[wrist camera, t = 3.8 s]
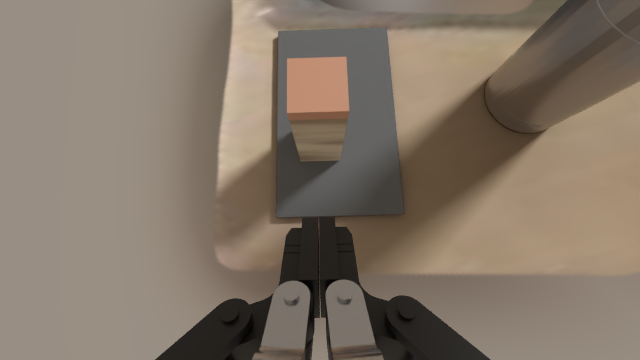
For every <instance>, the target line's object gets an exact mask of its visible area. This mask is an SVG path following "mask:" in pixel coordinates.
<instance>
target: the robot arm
mask: <svg viewBox="0 0 640 360" xmlns="http://www.w3.org/2000/svg"><path fill="white" fill-rule="evenodd" d="M638 82H640V0H567V1H566V2H565V3H564V4H563V5H562V6H561V7H560V8H559V9H558V10H557V11H556V12H555V13H554V14H553V15H552V16H551V17H550V18H549V19H548V20H547V21H546V22H545V23H544V24H543V25H542V26H541V27H540V28H539V29H538V30H537V31H536V32H535V33H534V34H533V35H532V36H531V37H530V38H529V39H528V40H527V41H526V42H525V43H524V44H523V45H522V46H521V47H520V48H519V49H518V50H517V51H516V52H514V53H513V54H512V55H511V56H510V57H509V58H508V59H507V60H506V62H505V63H504V64H503V65H502V66H501V67H500V68H499V69H498V70H497V71H496V72H495V73H494V74H493V75H492V76H491V77H490V78H489V80H488V82H487V84H486V88H485V100H486V104H487V107H488V109H489V110H490V112H491V114H492V115H493V116H494V117H495V119H496V120H498V121H499V122H500V123H501V124H502V125H504V126H506V127H507V128H509V129H511V130H514V131H517V132H522V133H537V132H541V131H544V130H546V129H548V128H550V127H552V126H554V125H555V124H557V123H559V122H561V121H563V120H565V119H567V118H569V117H571V116H573V115H575V114H577V113H579V112H581V111H583V110H585V109H587V108H589V107H591V106H593V105H595V104H597V103H599V102H601V101H603V100H605V99H607V98H608V97H610V96H612V95H614V94H616V93H618V92H620V91H622V90H624V89H626V88H628V87H630V86H632V85H634V84H636V83H638ZM319 242H320V296H321V297H320V298H321V317H326V334H327V348H328V358H329V360H490V359H489V358H488V357H487V356H485V355H484V354H483V353H482V352H480V351H479V350H478V349H477V348H475V347H474V346H473V345H472V344H470V343H469V342H468V341H467V340H465V339H464V338H463V337H462V336H460V335H459V334H458V333H457V332H456V331H454V330H453V329H452V328H451V327H449V326H448V325H447V324H446V323H444V322H443V321H441V319H439V318H438V317H437V316H435V315H434V314H433V313H432V312H431V311H429V310H428V309H427V308H426V307H425V306H423V305H422V304H421V303H420V302H418V301H417V300H415V299H413V298H411V297H408V296H396V297H394V298H392V299H391V300H390V301H386V300H383V299H379V298H376V297H373V296H371V295H369V294H368V293H367V292H366V291H364V289H363V288H362V287H361V285H360V283H359V278H358V272H357V265H356V259H355V253H354V246H353V239H352V234H351V233H350V231H349V230H348V229H347V227H335V216H319V229H318V217H303V219H302V228H291V230H290V231H289V233H288V234H287V235H286V240H285V247H284V254H283V261H282V268H281V276H280V283H279V286H278V287H277V289H276V290H275V292H274V293H273V294H272V295H271V296H270V297H268V298H266V299H265V300H262V301H259V302H256V303H253V304H250V305H249V304H248V303H247V302H246V301H244V300H242V299H230V300H227V301H225V302H223V303H221V304H220V305H219V306H217V307H216V308H215V309H214V310H213V311H212V312H210V313H209V314H208V315H207V316H206V317H205V318H203V319H202V320H201V321H200V322H199V323H197V324H196V325H195V326H194V327H193V328H192V329H191V330H189V331H188V332H187V333H186V334H185V335H184V336H182V337H181V338H180V339H179V340H178V341H177V342H175V343H174V344H173V345H172V346H171V347H169V348H168V349H167V350H166V351H165V352H164V353H162V354H161V355H160V356H159V357H158V358H157V359H155V360H311V357H312V345H313V335H314V318H319V317H320V312H319V311H320V308H319V305H320V303H319V302H320V301H319Z"/></svg>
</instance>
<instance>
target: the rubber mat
mask: <svg viewBox="0 0 640 360" xmlns="http://www.w3.org/2000/svg"><path fill="white" fill-rule="evenodd" d="M318 57H346V59H347V77H348V96H349V115H348V121H347V126H346V131H345V137H344V142H343V147H342V152H341V158H340V160H339V161H304V162H301V161H300V157H299V154H298V150H297V147H296V143H295V140H294V136H293V133H292V129H291V126H290V122H289V119H288V115H287V58H318ZM399 214H404V206H403V195H402V185H401V174H400V164H399V153H398V143H397V132H396V122H395V111H394V101H393V90H392V80H391V69H390V59H389V48H388V37H387V28H358V29H328V30H297V31H278V101H277V191H276V217H277V218H287V217H319V216H362V215H399Z"/></svg>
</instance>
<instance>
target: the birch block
mask: <svg viewBox="0 0 640 360" xmlns="http://www.w3.org/2000/svg"><path fill="white" fill-rule="evenodd" d="M287 115H288V119H289V122H290V126H291V129H292V133H293V136H294V140H295V143H296V147H297V150H298V154H299V157H300V161H301V162H304V161H339V160H340V158H341V152H342V147H343V142H344V137H345V131H346V126H347V121H348V115H349V96H348V77H347V59H346V57H318V58H287Z"/></svg>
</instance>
